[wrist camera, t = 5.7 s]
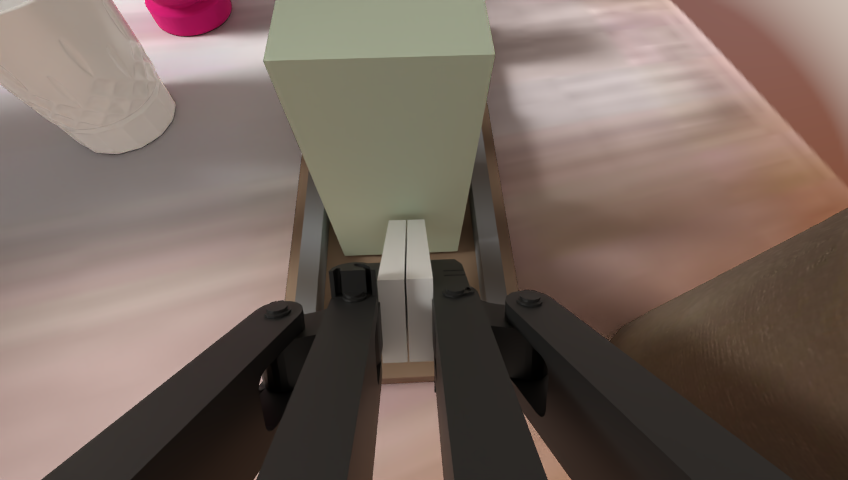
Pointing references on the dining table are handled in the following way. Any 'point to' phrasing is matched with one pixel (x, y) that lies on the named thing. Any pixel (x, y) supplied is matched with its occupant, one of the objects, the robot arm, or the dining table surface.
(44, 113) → the white cup
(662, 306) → the pillar candle
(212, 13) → the pink bowling pin
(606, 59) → the dining table surface
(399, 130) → the block
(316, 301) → the press bench
